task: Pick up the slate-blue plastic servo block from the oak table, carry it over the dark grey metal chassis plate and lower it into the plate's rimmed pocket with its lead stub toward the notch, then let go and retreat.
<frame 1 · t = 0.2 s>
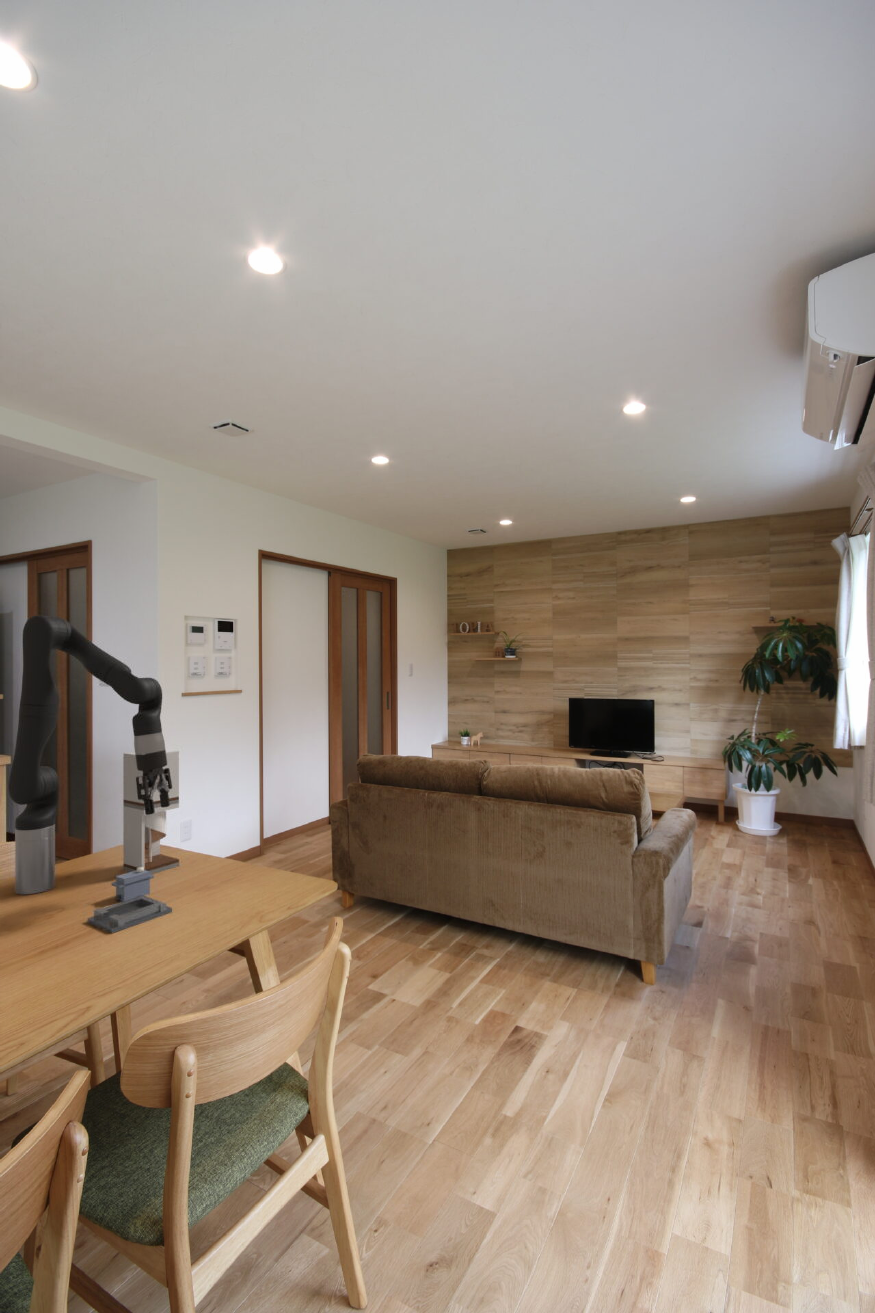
hand: (158, 810, 170), 22 cm above the table, tool pointing down, fingers open, 8 cm apart
chassis: (130, 917, 153), on the table
white alcove tower: (151, 868, 190), on the table
servo: (133, 896, 167), on the table
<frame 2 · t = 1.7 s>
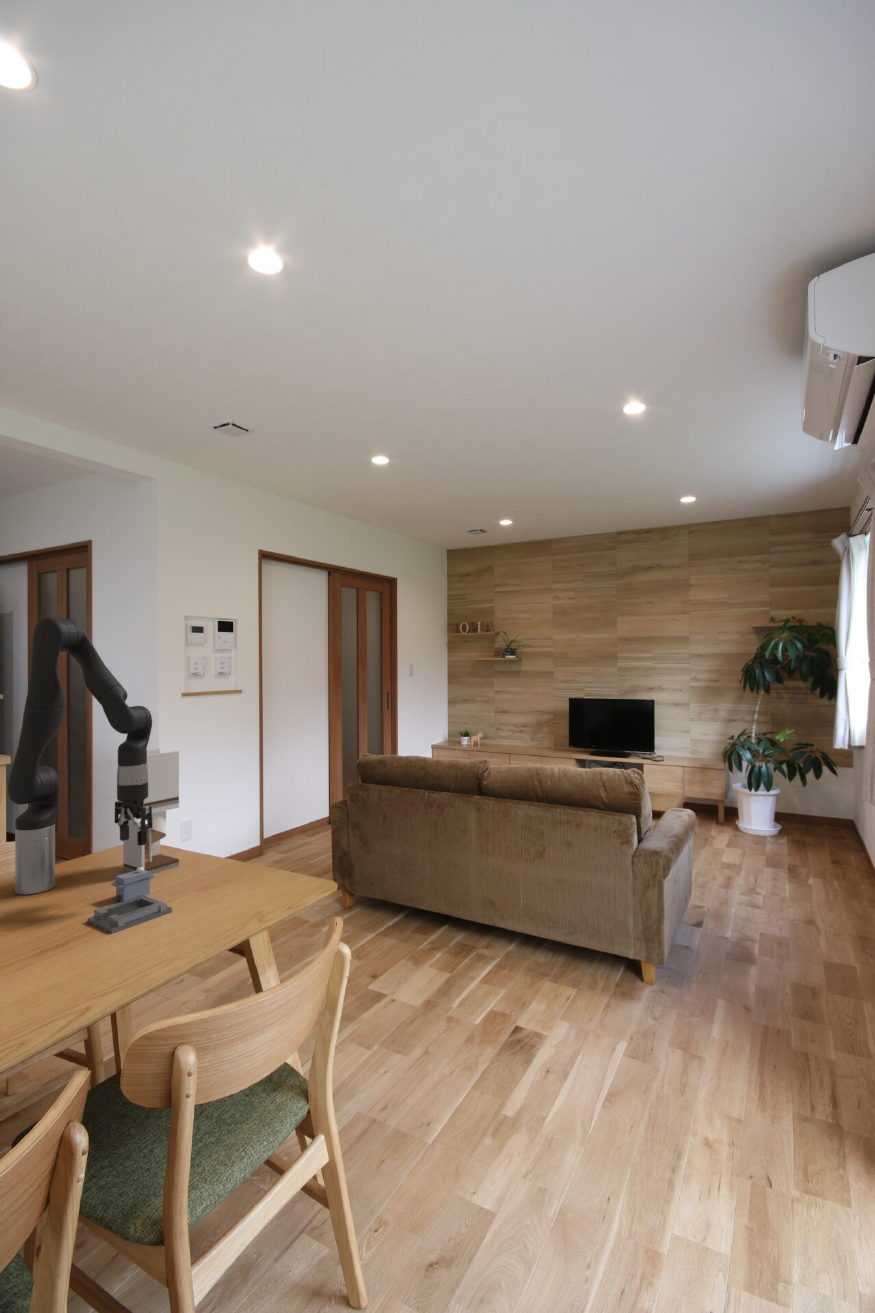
hand: (133, 842, 167), 14 cm above the table, tool pointing down, fingers open, 8 cm apart
nothing on the table moved.
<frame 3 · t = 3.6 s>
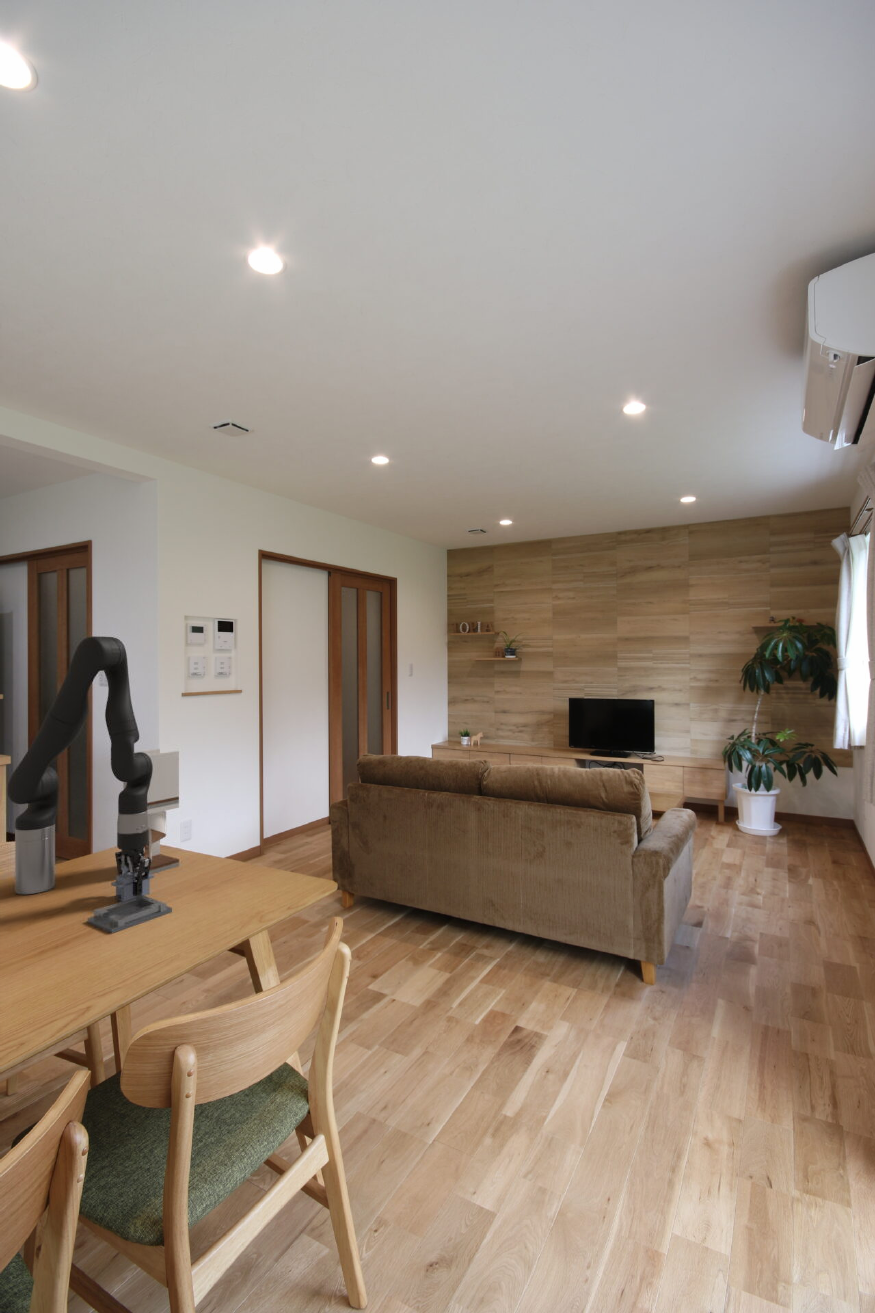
hand: (133, 893, 167), 1 cm above the table, tool pointing down, fingers closed on servo, 4 cm apart
servo: (132, 896, 167), on the table, touching gripper
everything else where it was.
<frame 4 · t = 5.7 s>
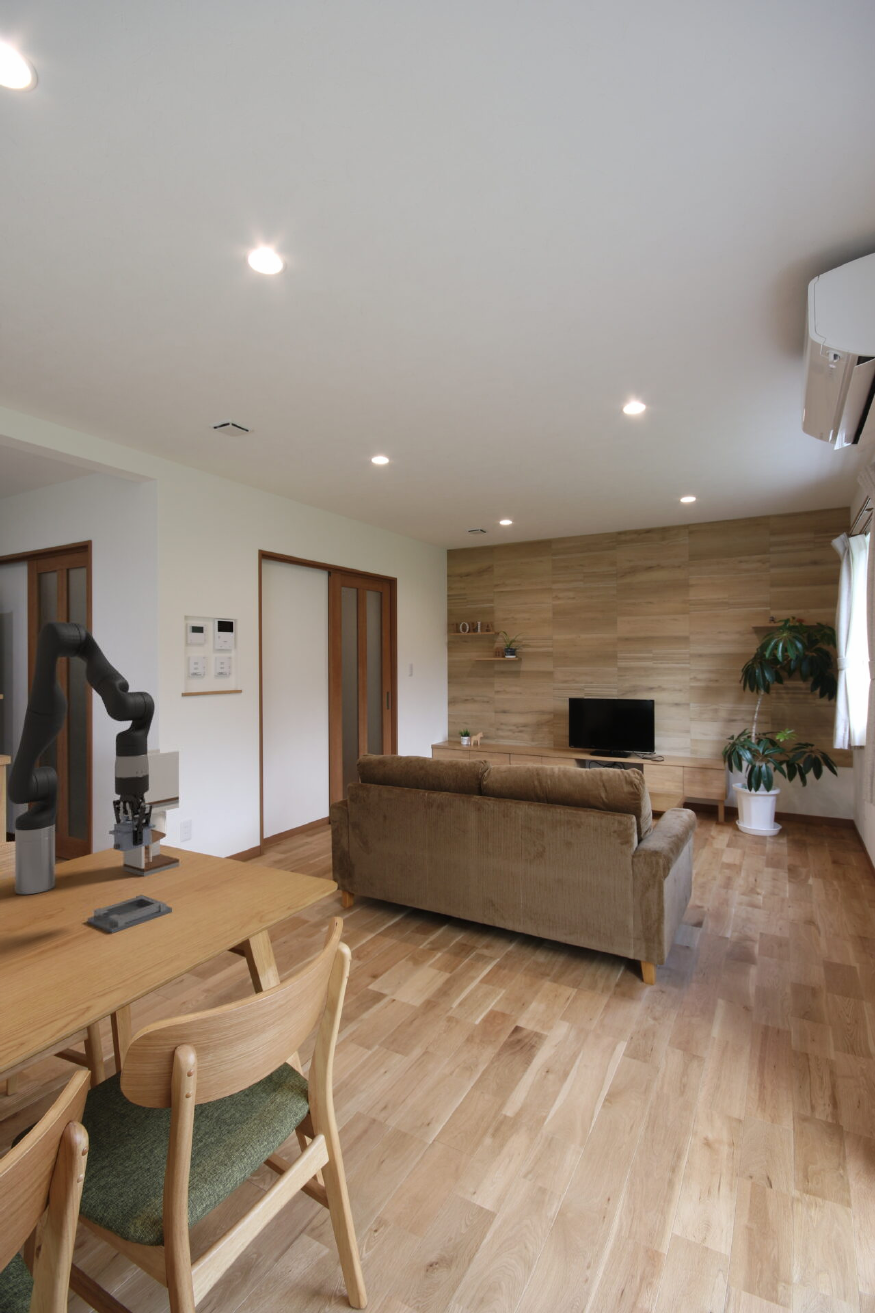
hand: (132, 843, 154), 18 cm above the table, tool pointing down, fingers closed on servo, 4 cm apart
servo: (132, 846, 154), point 17 cm above the table, touching gripper
everything else where it was.
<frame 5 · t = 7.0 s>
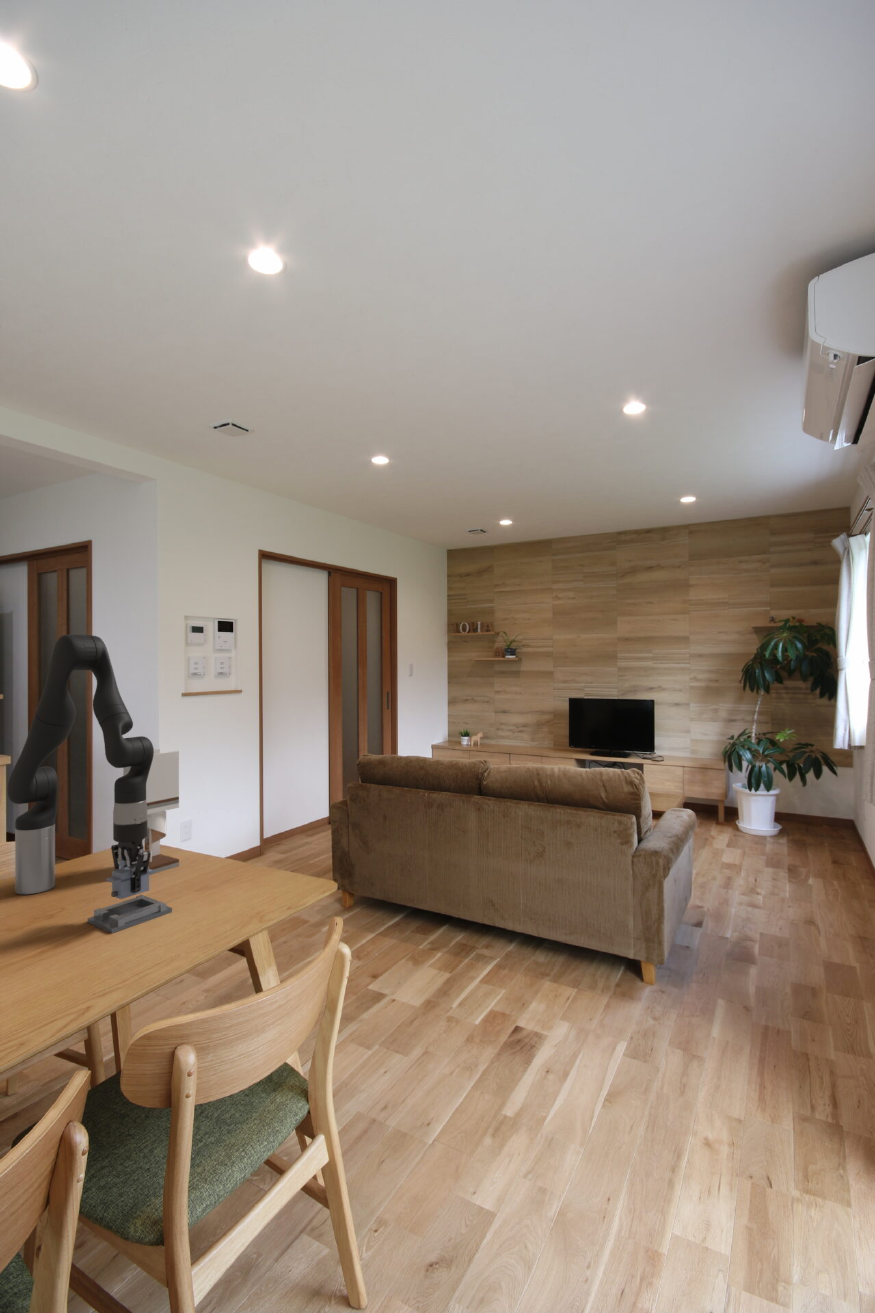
hand: (130, 889, 153), 7 cm above the table, tool pointing down, fingers closed on servo, 4 cm apart
servo: (130, 893, 153), point 6 cm above the table, touching gripper
everything else where it was.
when the fingers open (4 cm above the table, at t = 7.9 s): servo drops 2 cm, resting on chassis.
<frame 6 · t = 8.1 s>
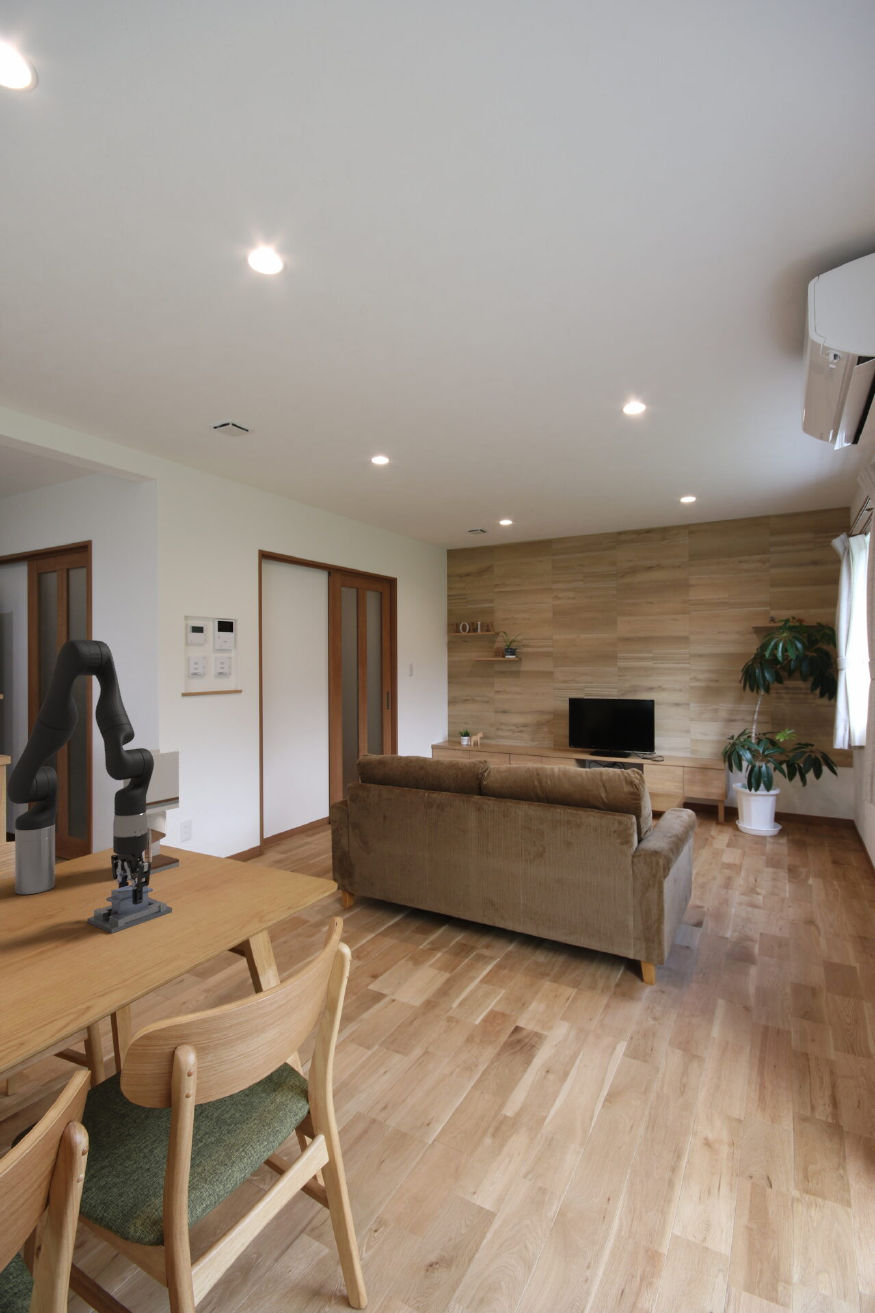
hand: (130, 900, 153), 4 cm above the table, tool pointing down, fingers open, 5 cm apart
servo: (130, 912, 153), point 1 cm above the table, touching chassis
everything else where it was.
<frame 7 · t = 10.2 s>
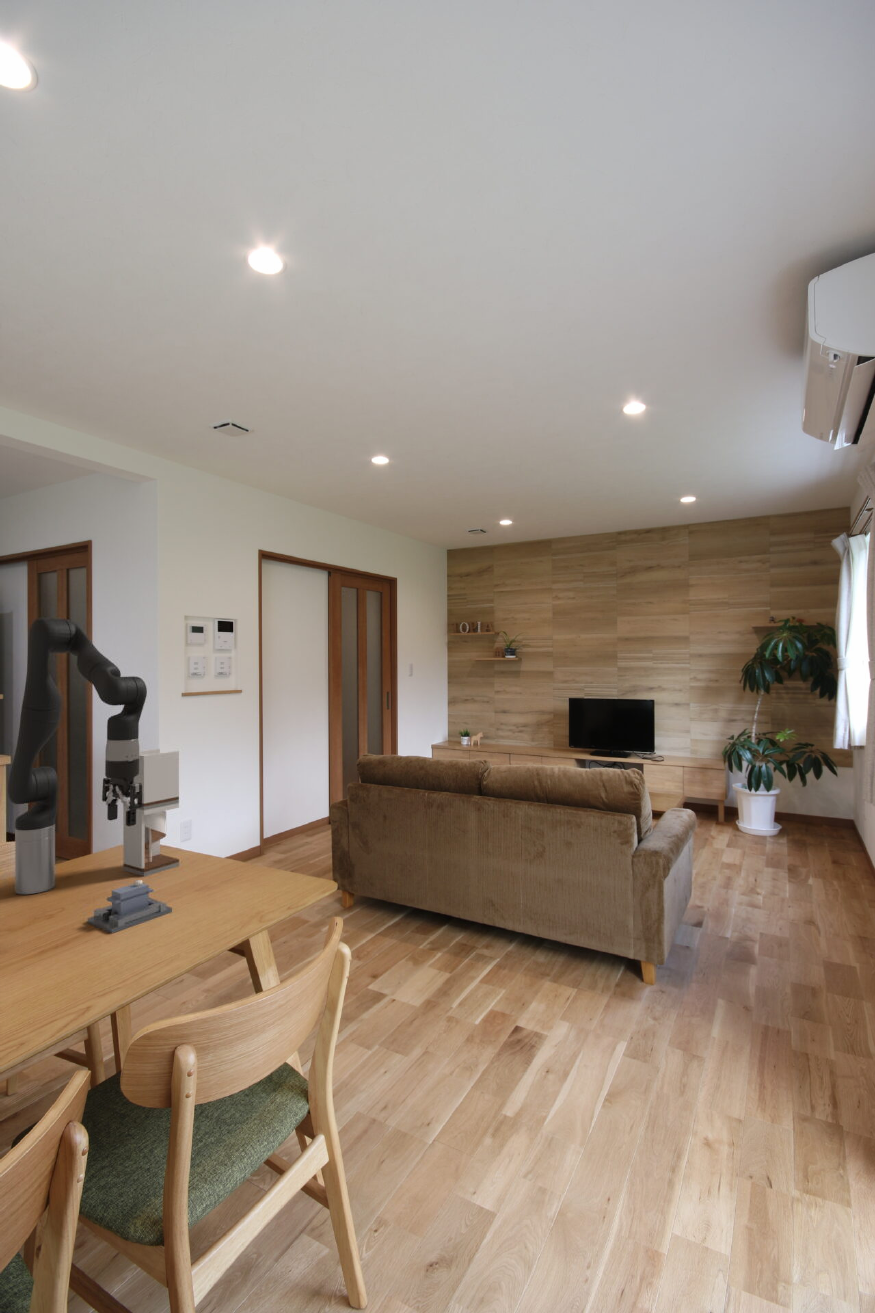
hand: (121, 822, 155), 22 cm above the table, tool pointing down, fingers open, 8 cm apart
nothing on the table moved.
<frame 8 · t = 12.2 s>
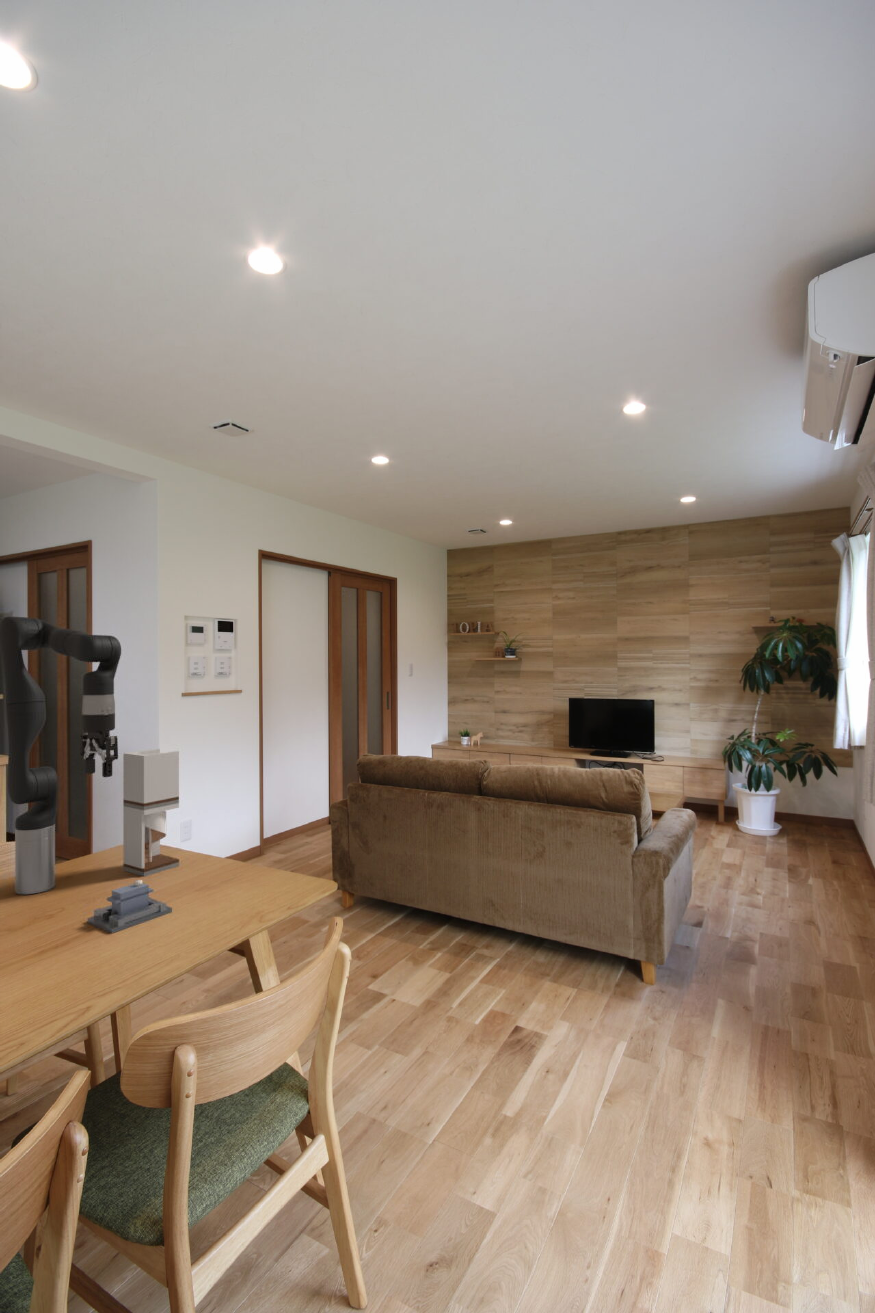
hand: (98, 775, 162), 33 cm above the table, tool pointing down, fingers open, 8 cm apart
nothing on the table moved.
at the end: servo 0.1 cm off-centre on the chassis, point 1.1 cm above the chassis's base; servo tilted 0°; the gripper is holding nothing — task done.
